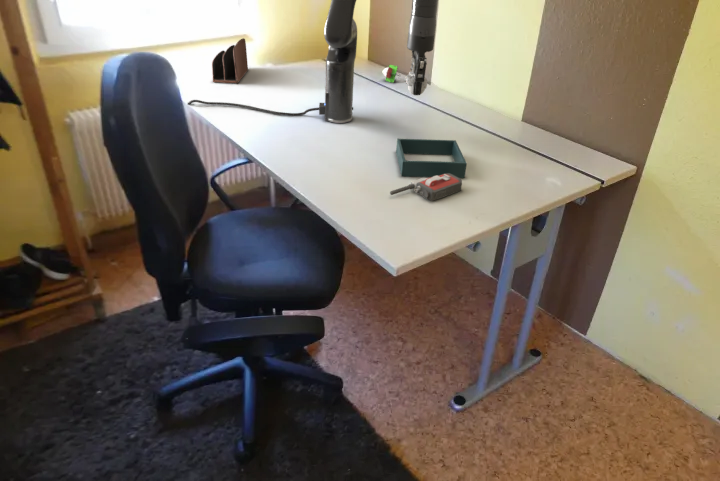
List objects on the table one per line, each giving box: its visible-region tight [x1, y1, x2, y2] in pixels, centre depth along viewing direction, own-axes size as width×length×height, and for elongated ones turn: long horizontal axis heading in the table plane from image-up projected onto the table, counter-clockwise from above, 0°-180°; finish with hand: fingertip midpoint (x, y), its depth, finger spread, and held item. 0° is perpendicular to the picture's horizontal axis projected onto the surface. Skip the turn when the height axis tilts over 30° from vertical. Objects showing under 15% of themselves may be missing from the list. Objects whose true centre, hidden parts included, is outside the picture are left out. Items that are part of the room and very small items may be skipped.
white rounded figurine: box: [404, 71, 428, 96], centre depth 161 cm, size 6×7×7 cm
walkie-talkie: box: [389, 173, 463, 202], centre depth 142 cm, size 9×4×20 cm
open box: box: [395, 138, 468, 179], centre depth 157 cm, size 18×17×4 cm
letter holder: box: [211, 37, 249, 85], centre depth 220 cm, size 10×20×14 cm, turn 178°
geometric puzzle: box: [381, 64, 401, 84], centre depth 227 cm, size 7×7×8 cm
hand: (415, 91), depth 162 cm, fingers closed on white rounded figurine, 6 cm apart
